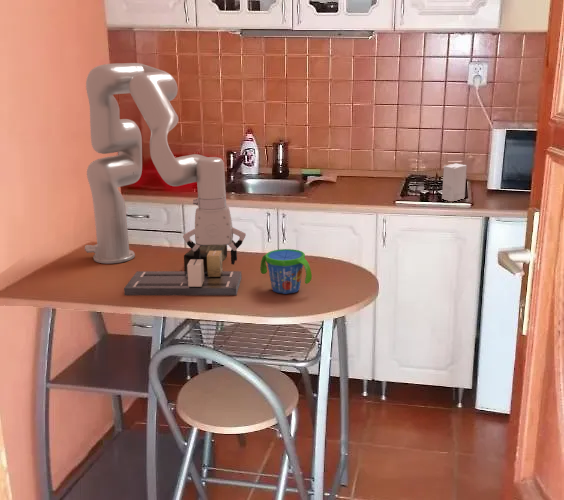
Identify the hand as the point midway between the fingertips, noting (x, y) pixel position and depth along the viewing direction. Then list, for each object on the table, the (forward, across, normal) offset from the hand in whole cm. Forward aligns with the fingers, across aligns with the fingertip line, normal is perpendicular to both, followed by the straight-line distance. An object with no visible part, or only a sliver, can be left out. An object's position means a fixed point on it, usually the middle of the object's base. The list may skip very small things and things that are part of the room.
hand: (216, 263), depth 190 cm
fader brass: (+3, 0, 0) cm, 3 cm away
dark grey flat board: (+5, -8, -4) cm, 11 cm away
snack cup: (+6, +20, -7) cm, 21 cm away
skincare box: (+6, +86, +101) cm, 133 cm away
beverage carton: (+6, -5, +15) cm, 17 cm away
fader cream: (+3, -4, -8) cm, 9 cm away
